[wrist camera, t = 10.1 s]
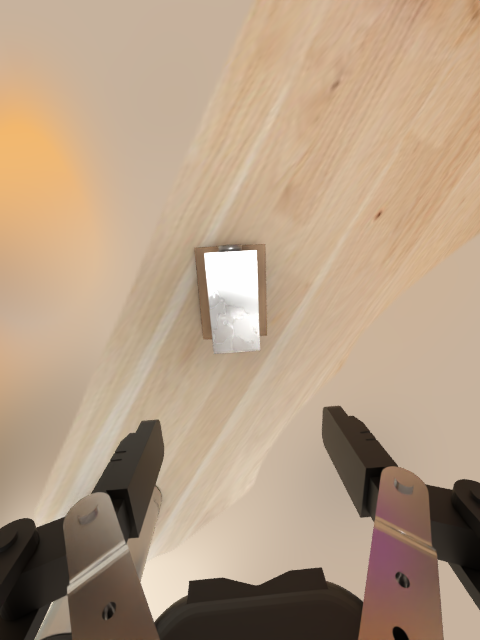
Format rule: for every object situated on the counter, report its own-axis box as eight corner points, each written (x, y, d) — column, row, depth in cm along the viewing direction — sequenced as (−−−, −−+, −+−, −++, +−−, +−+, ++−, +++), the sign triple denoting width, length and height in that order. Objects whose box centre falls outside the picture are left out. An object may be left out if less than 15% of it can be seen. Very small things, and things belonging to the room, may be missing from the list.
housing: (208, 247, 27) (203, 246, 22) (250, 244, 27) (256, 243, 22) (216, 340, 30) (214, 359, 25) (254, 337, 30) (260, 355, 25)
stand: (206, 329, 34) (203, 339, 30) (198, 247, 31) (194, 247, 27) (262, 325, 34) (266, 335, 30) (260, 244, 31) (265, 244, 27)
